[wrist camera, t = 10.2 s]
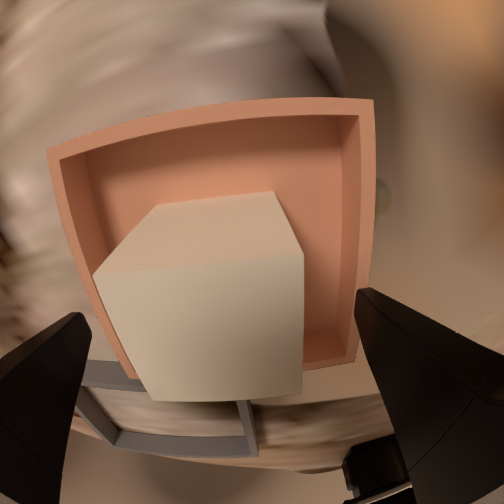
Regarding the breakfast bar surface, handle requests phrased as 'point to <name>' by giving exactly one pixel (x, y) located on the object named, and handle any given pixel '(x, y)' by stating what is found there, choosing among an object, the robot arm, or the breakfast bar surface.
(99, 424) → the gray rectangular frame
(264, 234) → the stone block
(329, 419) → the breakfast bar surface
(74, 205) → the terracotta tray
